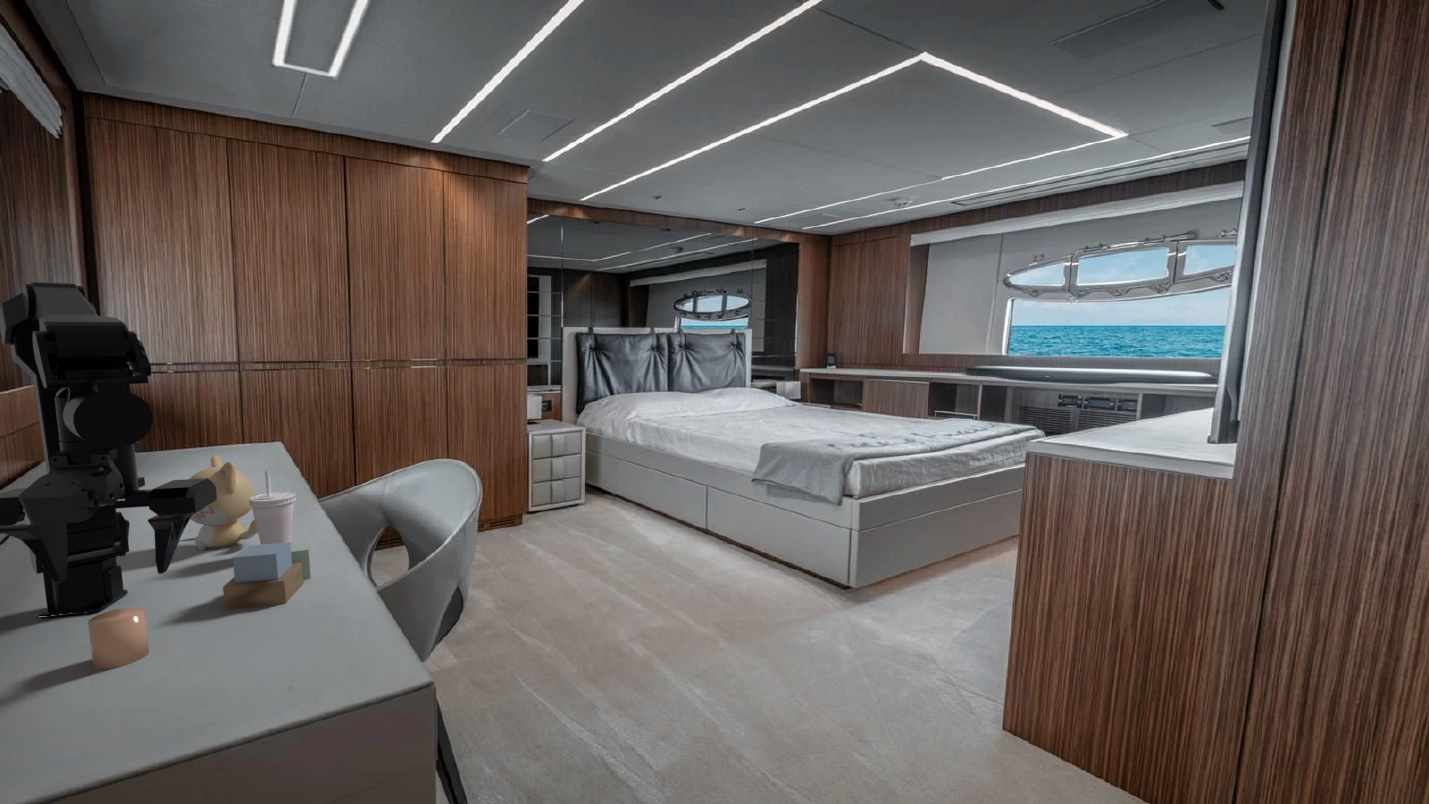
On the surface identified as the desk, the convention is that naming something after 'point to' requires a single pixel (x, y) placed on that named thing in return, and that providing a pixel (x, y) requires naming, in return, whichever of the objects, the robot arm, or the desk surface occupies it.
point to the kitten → (224, 506)
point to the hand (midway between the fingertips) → (112, 577)
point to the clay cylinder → (118, 637)
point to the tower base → (263, 590)
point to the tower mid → (262, 562)
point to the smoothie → (273, 514)
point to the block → (302, 557)
